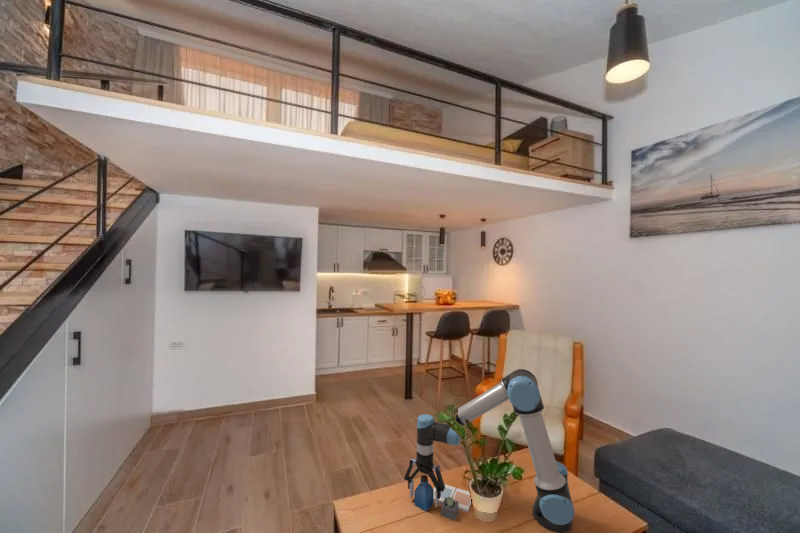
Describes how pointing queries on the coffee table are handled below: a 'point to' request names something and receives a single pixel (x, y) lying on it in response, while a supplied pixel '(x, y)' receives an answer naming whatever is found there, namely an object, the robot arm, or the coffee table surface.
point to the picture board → (456, 497)
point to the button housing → (449, 509)
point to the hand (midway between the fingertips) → (423, 500)
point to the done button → (450, 502)
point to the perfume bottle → (424, 494)
